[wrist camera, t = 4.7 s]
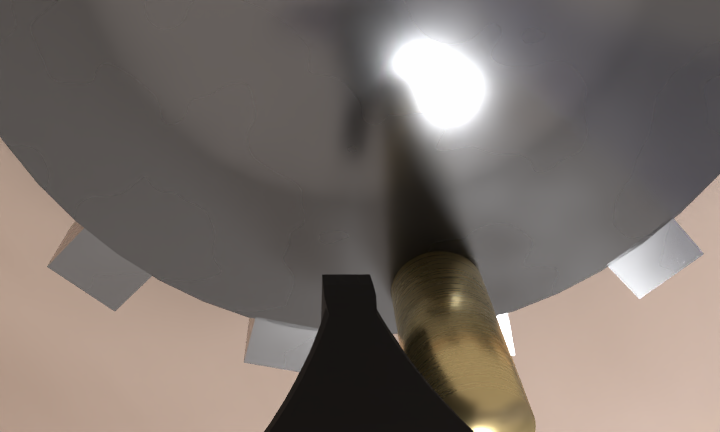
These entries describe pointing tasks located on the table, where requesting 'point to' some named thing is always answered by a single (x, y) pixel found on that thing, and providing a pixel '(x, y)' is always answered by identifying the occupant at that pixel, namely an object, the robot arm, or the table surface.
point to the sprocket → (369, 159)
